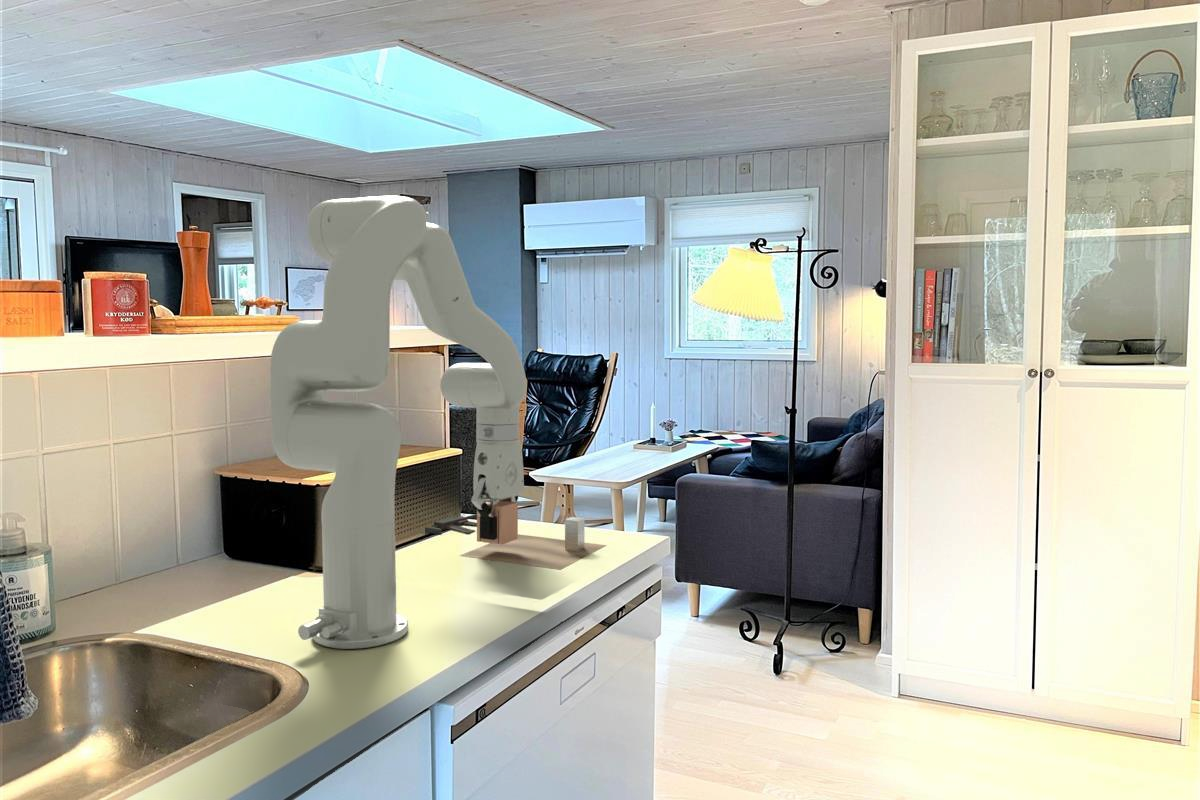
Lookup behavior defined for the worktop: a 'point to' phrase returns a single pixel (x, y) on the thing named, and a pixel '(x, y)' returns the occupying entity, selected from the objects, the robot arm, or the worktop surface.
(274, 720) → the worktop surface
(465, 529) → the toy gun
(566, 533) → the post
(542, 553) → the board
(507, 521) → the salmon pink block
